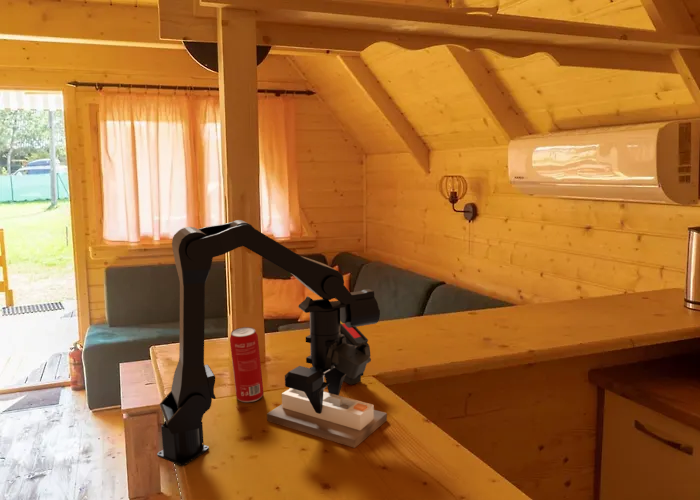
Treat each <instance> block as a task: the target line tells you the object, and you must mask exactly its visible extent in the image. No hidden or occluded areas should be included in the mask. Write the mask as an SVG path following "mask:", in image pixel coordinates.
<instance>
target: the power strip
mask: <svg viewBox="0 0 700 500" xmlns="http://www.w3.org/2000/svg"><path fill="white" fill-rule="evenodd" d="M306 396H307V395H306V394H305V392H303V391H299V390H296V389H292V388H289V389H286V390H285V391H284V392H282V393H281V404H282V408H285V409H289V410H292V411H296V412H299V413H302V414H306V415H309V416H313V417H316V418H319V419H323V420H326V421H330V422H333V423H336V424H340V425H343V426H347V427H350V428H353V429H357V430H361V429H363V428H364V427H365V426H366V425H367V424H369V423H370V422H371V421H372V420H373V419H374V410H375V407H374V404H372V403H370V402H369V403H368V402H365V401H361V400H357V399H354V398H351V397H350V398H349V397H346V396H342V395H340V394H339V395H335V394H331V393H329V392H328V391H325V390H324V391H323V405H322V412H321V413H320V414H319V413H316V412H315V410H314V408H313V406H312V405H311V403H310V401H309V399H308V398H306ZM342 404H346V405H348V409H344V408H340V405H342Z"/></svg>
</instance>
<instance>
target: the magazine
mask: <svg viewBox="0 0 700 500" xmlns="http://www.w3.org/2000/svg"><path fill="white" fill-rule="evenodd" d="M340 334H343V335H345V337H346V343H347V344H350V345H355V346H358V345H360V344H362V343H363V342H364V343H366V344H368V345H369V343H368V342H369V339H368V338H367V337H366V336H365V335H364V334H363V333H362V332H361V330H360V329H359V328H357V327H351V328H348V327H347V326H346V325H345V323H342V322H341V321H340ZM369 346H370V345H369ZM362 376H364V373H361V374H360V375H358V376H357V377H356V378H354V379H352V378H349V377H347V376H346V375H345V378H344V380H343V382H344V383H346V384H349V386H350V385H351V386H352V385H354V384H357V383H360V382H361V381H362V378H361V377H362Z"/></svg>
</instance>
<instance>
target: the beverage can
mask: <svg viewBox="0 0 700 500" xmlns="http://www.w3.org/2000/svg"><path fill="white" fill-rule="evenodd" d="M229 344H230V353H231V362H232V371H233V380H234V389H235V396H236V397H235V398H236V399H237V400H238V401H239V402H241V403H254V402H256V401H258V400H261V398H262V397H263V396H264V394H265V393H264V383H263V382H264V381H263V375H262V374H263V373H262V366H261V365H262V364H261V354H260V344H259V335H258V333H257V331H256V329H255V328H254V327H252V326H251V327H250V326H243V327H238V328H235V329H233V330H232V331H231V333H230V337H229Z"/></svg>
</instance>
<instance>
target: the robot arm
mask: <svg viewBox="0 0 700 500" xmlns="http://www.w3.org/2000/svg"><path fill="white" fill-rule="evenodd" d="M171 247H172V253H173V258H174V263H175V268H176V272H177V275H178V276H177V277H178V280H179V353H178V354H179V358H178V361H177V365H176V367H175V371H174V374H173V379H172V384H171V390H170V391H169V392H168V394H167V395H166V396H165V397H164V398H163V400H162V401H161V402H160V403H159V407H160V410H161V412H162V415H163V417H164V421H163V424H161V426H160V428H161V439H162V442H161V443H162V450H160V451H158V452H157V455H156V456H157V457H158V458H161V459H163V460H166V461H168V462H171V463H173V464H175V465H178V466H185V465H187V464H189V463H191V462H192V461H193V460H195V459H197V458H199V456H201V455H203V454H204V453H206V452H208V451H209V450H210V447H209V445H205V444H204V428H203V422H202V420H203V418H204V414H206V413H207V412H208V411H209V410H210V409H211V407H212V403H213V402H212V401H213V400H216V399H217V398H216V395H215V392H214V391H215V383H216V375H215V374H214V372H213V370H212V369H211V367H210V365H209V364H205V313H206V312H205V306H206V303H205V302H206V299H205V298H206V282H207V279H208V277H209V275H210V273H211V272H210V271H211V269H212V265H213V259H214V258H216V257H218V256H223V255H225V254H227V253H230V252H232V251H234V250H235V249H238V248H242V247H243V248H246V249H248V250H249V251H251V252H253V253H255V254H256V255H259V256H260V257H262V258H264V259H266V260H267V261H269V262H270V263H272V264H274V265H276V266H278V267H279V268H281V269H283V270H284V271H286V272H289V274H290V275H292V276H293V277H294V278H295V279H296V280H297V281H299V283H300V284H302V285H303V286H304V287H305V288H307V289H308V290H309V291H310V292H312V293H313V294H315V295H317V296H318V297H319V298H318V299H313V298H312V297H310V296H306V297H305V298H304V300H303V301H302V302H300V304H299V305H298V306H297V307H298V308H299V309H300V310H302V312H304V313H305V314H307V313H308V314H309V335H307V336H305V343H309V344H310V355H309V356H306V357H305V363H307V364H310V365H311V366H310V367H308V366H307V367H306V366H302V365H298V366H296V367H294V368H292V369H291V370H290V371H289V370H288V372H287V373H285V375H284V386H285V388H289V389H290V388H292V389H296V390H299V391H303V392H305V394H306V395H307V397H308V399H309V401H310V403H311V405H312V406H313V408H314V410H315V412H316V413H319V414H320V413H321V412H322V405H323V391H324V392H325V389H326V388H327V393H331V394H335V395H339V396H340V392H341V390H342V387H343V382H344V381H343V380H344V378H345V375H346V376H347V377H349V378H352V379H354V378H356V377H357V376H358V375H360V374H361V373H363V374H364V373H365V370H366V367H367V365H368V364H369V363H370V362H372V358H371V348H370V345H368V344H369V343H368V344H366V343H364V342H363V343H362V344H360V345H358V346H355V345H350V344H347V343H346V337H345V335H343V334H340V321H341V322H342V323H345V325H346V326H347V327H348V328H351V327H363V326H369V325H376V324H377V323H379V321H380V316H381V309H379V304H378V301H377V298H376V297H375V291H374V290H372V289H370V288H367V289H362V290H358V291H352V292H350V291H349V289H348V288H347V287H346V286H345V280H344V275H343V274H342V272H340V271H339V270H337V269H335V268H334V267H331V266H329V265H328V264H325V263H323V262H320V261H319V260H318V261H317V260H314V259H311V258H308V257H305V256H302V255H300V254H298V253H296V252H295V251H293V250H292V249H290V248H288V247H286V246H285V245H283V244H281V243H280V242H278V241H277V240H274V239H273V238H272V237H269V236H267V235H266V234H264V233H263V232H261V231H259V230H258V229H257V228H255V227H254V226H253V225H252V224H250V223H248V222H246V221H244V220H242V219H237V220H232V221H231V222H227V223H222V224H215V225H209V226H204V227H201V228H197V227H195V226H194V227H193V226H185V227H182V228H180V229H179V230H178V231H176V232H175V233H174V235H173V237H172V241H171ZM334 299H335V300H334ZM330 300H331V301H330Z"/></svg>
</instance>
